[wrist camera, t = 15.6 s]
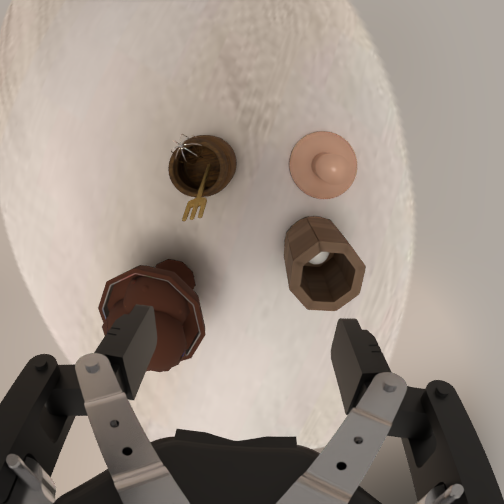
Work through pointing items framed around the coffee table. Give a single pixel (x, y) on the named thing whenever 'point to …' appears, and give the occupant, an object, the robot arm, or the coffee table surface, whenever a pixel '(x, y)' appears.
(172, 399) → the coffee table surface
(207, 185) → the utensil holder
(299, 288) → the canister
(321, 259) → the ball
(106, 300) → the ice cream bowl
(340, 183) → the lid
